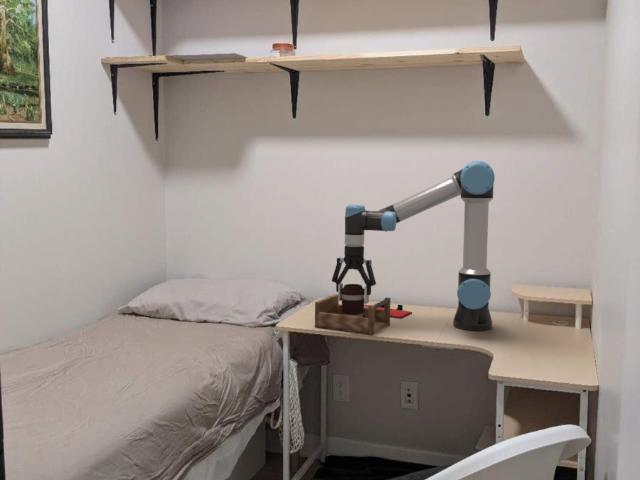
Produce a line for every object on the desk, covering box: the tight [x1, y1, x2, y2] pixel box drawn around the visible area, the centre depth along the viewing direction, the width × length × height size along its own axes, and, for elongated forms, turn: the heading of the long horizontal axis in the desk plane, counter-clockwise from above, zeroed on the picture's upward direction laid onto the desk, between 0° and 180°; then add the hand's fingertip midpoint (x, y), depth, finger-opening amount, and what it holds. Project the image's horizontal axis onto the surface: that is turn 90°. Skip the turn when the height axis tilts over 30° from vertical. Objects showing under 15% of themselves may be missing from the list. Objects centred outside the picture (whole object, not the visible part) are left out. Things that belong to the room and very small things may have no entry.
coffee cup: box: [340, 283, 365, 317], centre depth 271 cm, size 10×10×15 cm
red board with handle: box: [364, 304, 413, 320], centre depth 299 cm, size 30×3×15 cm
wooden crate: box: [314, 293, 392, 336], centre depth 271 cm, size 24×18×11 cm
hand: (353, 301), depth 270 cm, fingers open, 10 cm apart
